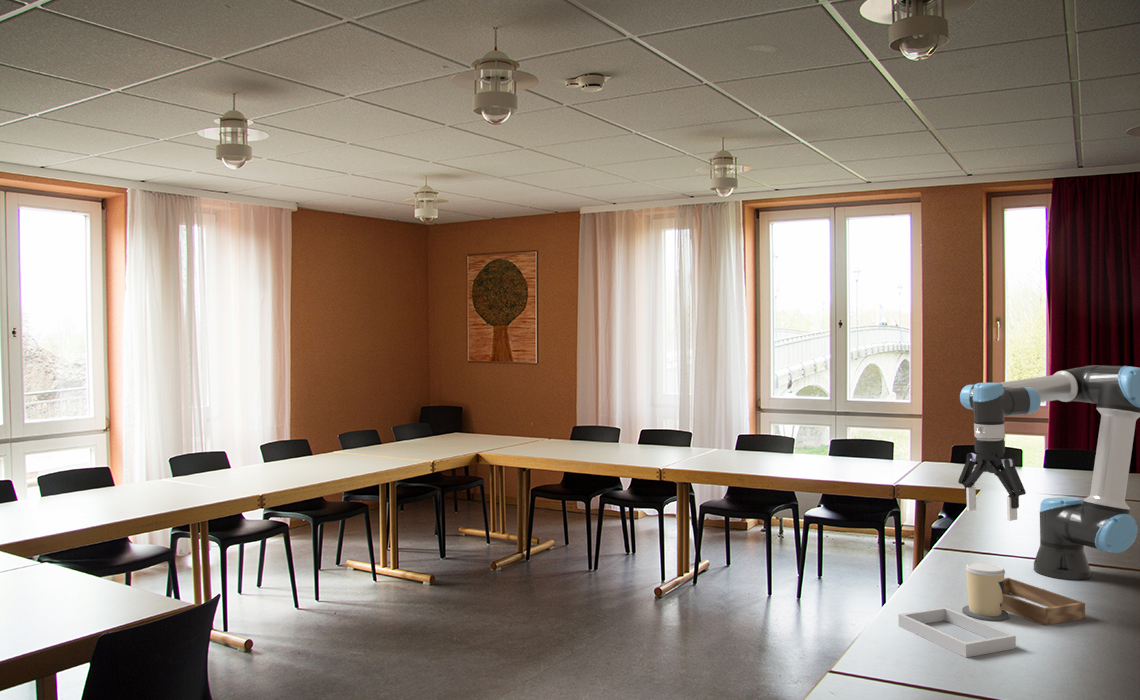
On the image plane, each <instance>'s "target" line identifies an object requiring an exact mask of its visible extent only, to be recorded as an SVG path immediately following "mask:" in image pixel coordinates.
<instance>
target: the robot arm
mask: <svg viewBox="0 0 1140 700" xmlns="http://www.w3.org/2000/svg"><path fill="white" fill-rule="evenodd" d="M959 400H960V404H961V406H963V407H964V408H965V409H968V410H972V411H973V430H974V431H973V432H974V437H975V439H974V443H973V444H974V452H969V453H967V454H966V461H965V463H964V466H963V468H962V471H961V474H960V476H959V478H958V481H957V482H958V484H959V485H962V486H963V487H964V497H965V499H966V510H967V511H968V512H971V511H976V510H977V487H976V486H975V484H976V482H977V481H978V480H979V479H980V477H981V476H982V474H983V473H989V474H994V476H996V477H997V479H998V480H999V481H1000V483H1001V484H1002V486H1003V488H1005V490H1006V493H1008V495H1007V496H1006V504H1007V505H1006V506H1007V507H1006V509H1007V511H1006V512H1007V521H1010V522H1011V521H1015V520H1016V521H1017V520H1018V509H1019V507H1020V499H1019V497H1020V496H1023V495H1026V494H1027V493H1026V489H1025V487H1024V484H1023V483H1022V480H1021V478H1020V476H1019V472H1018V471H1017V469H1016V463H1015V460H1014V458H1004V454H1005V453H1006V440H1005V439H1004V438H1005V437H1006V435H1005V432H1006V431H1005V417H1007V416H1017V415H1018V416H1019V415H1023V416H1024V415H1025V416H1026V415H1029V414H1033V413H1035V412H1037V411H1038V410H1039V409H1040V407H1041V404H1042V403H1043V402H1044V403H1045V402H1053V401H1060V402H1063V403H1064V402H1065V403H1068V402H1080V403H1089V404H1096V408H1095V409H1096V410H1097V411H1098V413H1099V414H1100V423H1099V429H1098V430H1099V431H1098V437H1097V444H1096V451H1095V453H1096V454H1095V458H1094V466H1093V473H1092V478H1091V487H1090V491H1089V492H1090V494H1089V495H1088V496H1086V497H1085V498H1084V499H1083V498H1079V497H1049V498H1044V499H1043V500H1041V502H1040V506H1039V508H1040V509H1039V538H1040V539H1039V541H1040V542H1039V548H1038V551H1037V553H1036V556H1035V559H1034V561H1033V571H1034V572H1036V573H1037V574H1039V575H1043V576H1046V577H1048V578H1049V577H1051V578H1056V579H1063V580H1077V581H1078V580H1086V579H1089V578H1090V577H1091V567H1090V564H1089V561H1088V558H1087V555H1086V552H1085V547H1089V548H1092V549H1096V550H1099V551H1101V552H1107V553H1112V554H1120V553H1123V552H1125V551H1127V550H1128V548H1130V547H1132V545H1133V544H1134V542H1135V541H1136V538H1137V536H1138V535H1137V534H1138V528H1139V527H1138V524H1137V521H1136V519H1135V518H1134V517H1133V516H1132V515H1130V511H1131V508H1130V507H1129V505H1128V504H1127V502H1126V494H1127V487H1128V480H1129V474H1130V473H1129V472H1130V468H1131V467H1130V466H1131V459H1132V451H1133V445H1134V444H1133V443H1134V437H1135V430H1136V425H1137V424H1136V422H1137V420H1138V419H1139V418H1140V367H1136V366H1130V365H1129V366H1128V365H1099V364H1098V365H1097V364H1095V365H1085V366H1081V367H1074V368H1069V369H1064V370H1059V371H1056V372H1055V373H1053V374H1052V375H1046V376H1045V375H1044V376H1038V377H1031V378H1024V379H1018V380H1017V379H1016V380H1010V381H1003V382H1002V381H1000V382H977V383H975V384H967V385H965V386H964V387H962V389H961V391H960V394H959ZM976 463H977V464H976Z"/></svg>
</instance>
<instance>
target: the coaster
mask: <svg viewBox="0 0 1140 700" xmlns="http://www.w3.org/2000/svg"><path fill="white" fill-rule="evenodd" d="M962 614H963V615H965V614H966V616H968V617H970V618H973V619H975V620H979V621H980V620H981V621H989V622H1000V621H1001V622H1002V621H1006V620H1008V619H1009V617H1010V615H1009V612H1008V611H1005V610H1003V609H1002V613H1001V615H999V616H983V615H978V614H975V613H973V612H971V611H970V610H969V604H968V605H965V606H963V607H962Z"/></svg>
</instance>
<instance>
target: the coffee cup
mask: <svg viewBox="0 0 1140 700" xmlns="http://www.w3.org/2000/svg"><path fill="white" fill-rule="evenodd" d="M965 571H966V586H967V597H968V598H967V600H968V601H967V602H968V605H969V610H970V611H971V612H973V613H975V614H978V615H983V616H999V615H1001V613H1002V610H1003V609H1002V602H1003V589H1004V578H1005V574H1006V571H1005V569H1004V567H1003V566H1002V565H999V564H996V563H991V562H984V561H983V562H982V561H973V562H972V561H971V562H968V563H967V564H966V566H965Z"/></svg>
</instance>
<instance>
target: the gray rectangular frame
mask: <svg viewBox="0 0 1140 700" xmlns="http://www.w3.org/2000/svg"><path fill="white" fill-rule="evenodd" d="M943 620H944V621H946V622H948V623H949V624H952V625H955V626H957V627H959V628H962V629H965V630H967V631H970V632H972V633H974V634H975V635H976V634H977V635H979V636H981V637H983V638H984V639H979V640H977V639H976V640H971V641H964V640H961V639H960V638H958V637H957V638H956V637H955V636H952V635H950V634H948V633H945V632H943V631H941V630H938V629H937V628H934V627H932V626H930V625H928V624H930V623H936V622H942V621H943ZM898 627H900V628H902V629H904V630H906V631H908V630H909V631H908V632H910V633H912V634H915V635H917V634H918V635H917V636H919V637H921V638H923V637H924V638H923V639H925V638H926V639H925V640H928V641H930V642H932V643H934V644H936V645H938V646H940V647H942V648H945V649H947V650H949V651H951V652H954V653H956V654H958V655H959V656H962V657H964V658H970V657H971V658H972V657H976V656H981V655H986V654H993V653H998V652H1003V651H1004V652H1005V651H1009V650H1016V644H1017V643H1016V641H1017V640H1016V637H1017V636H1016V635H1015V634H1012V633H1010V632H1007V631H1004V630H1002V629H1000V628H997V627H995V626H992V625H989V624H987V623H985V622H983V621H980V620H979V619H976V618H972V617H969V616H967V615H965V614H964V613H961V612H958V611H956V610H953V609H950V608H948V607H945V606H944V607H936V608H932V609H926V610H925V609H923V610H919V611H911V612H904V613H899V614H898Z"/></svg>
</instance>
